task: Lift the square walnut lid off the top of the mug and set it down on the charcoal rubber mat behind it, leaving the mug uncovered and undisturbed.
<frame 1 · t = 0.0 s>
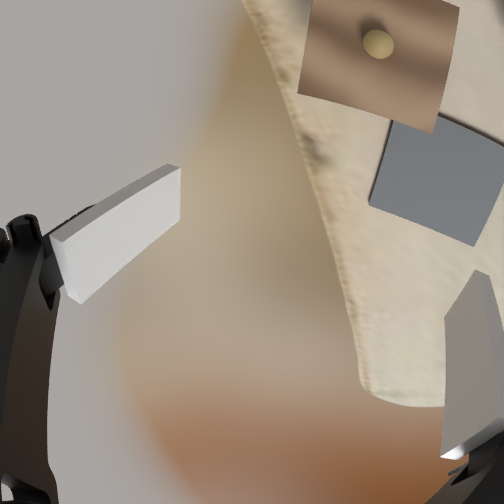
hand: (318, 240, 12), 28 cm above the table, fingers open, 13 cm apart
lid: (379, 46, 21), point 10 cm above the table, touching mug
mat: (442, 176, 33), on the table
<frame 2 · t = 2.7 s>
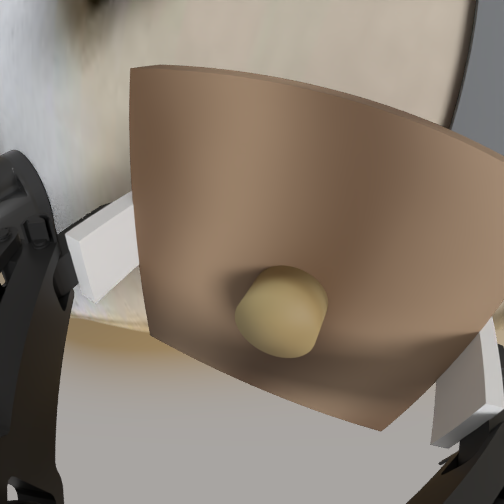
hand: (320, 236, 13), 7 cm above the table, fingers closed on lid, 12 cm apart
lid: (302, 272, 11), point 10 cm above the table, touching gripper, mug
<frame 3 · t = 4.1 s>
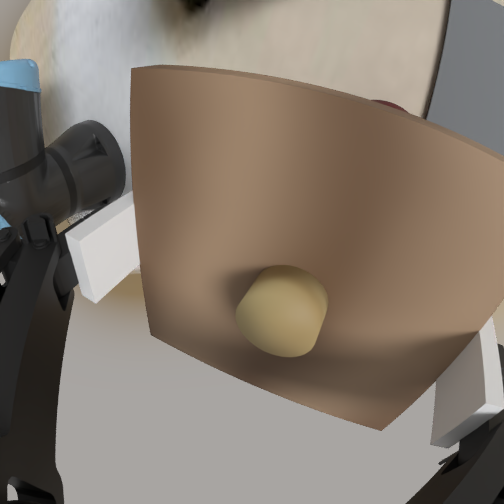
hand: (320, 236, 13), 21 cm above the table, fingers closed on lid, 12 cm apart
lid: (303, 271, 11), point 24 cm above the table, touching gripper
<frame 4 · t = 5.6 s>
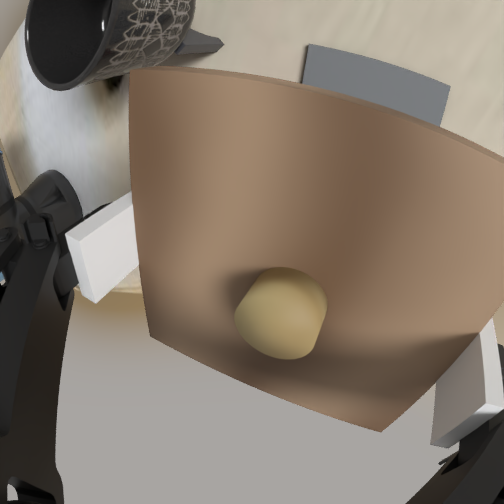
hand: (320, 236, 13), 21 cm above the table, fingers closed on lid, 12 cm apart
lid: (302, 273, 11), point 24 cm above the table, touching gripper
mat: (363, 135, 29), on the table
planter: (192, 17, 28), on the table
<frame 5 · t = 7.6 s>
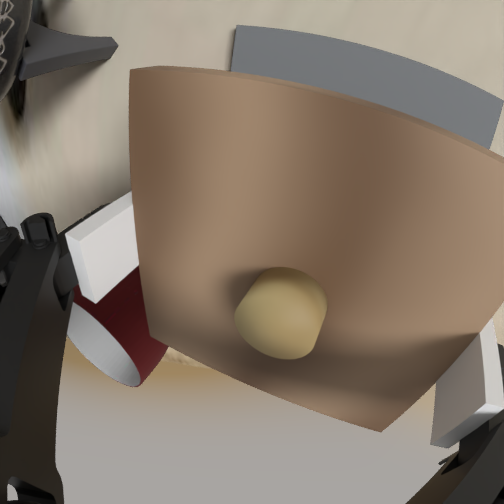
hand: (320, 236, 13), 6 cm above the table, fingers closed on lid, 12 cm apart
lid: (302, 273, 11), point 8 cm above the table, touching gripper
mat: (339, 188, 17), on the table
planter: (84, 12, 16), on the table
mug: (165, 261, 26), on the table
when the fingers open (3 cm above the table, at t = 8.9 s): lid drops 5 cm, resting on mat.
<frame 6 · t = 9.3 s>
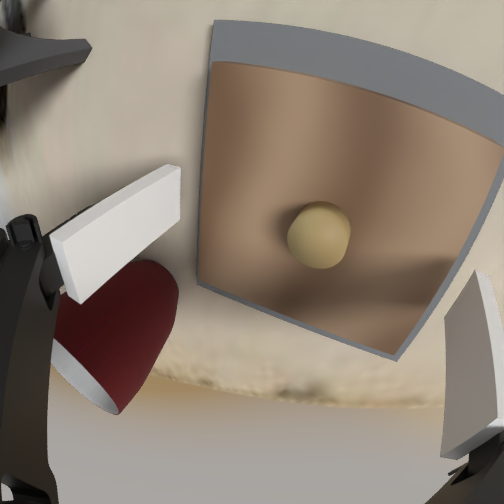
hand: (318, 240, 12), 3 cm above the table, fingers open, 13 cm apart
lid: (330, 213, 14), point 1 cm above the table, touching mat
mat: (333, 207, 15), on the table
planter: (59, 13, 14), on the table
mug: (148, 278, 24), on the table
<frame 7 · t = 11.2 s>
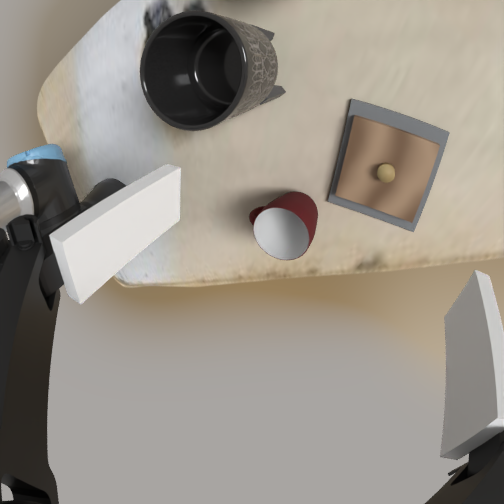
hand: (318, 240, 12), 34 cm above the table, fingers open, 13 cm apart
lid: (386, 168, 40), point 1 cm above the table, touching mat
mat: (387, 166, 40), on the table
planter: (259, 65, 40), on the table
mug: (295, 204, 50), on the table
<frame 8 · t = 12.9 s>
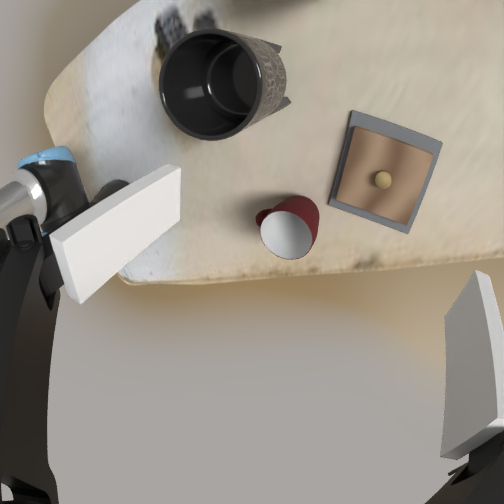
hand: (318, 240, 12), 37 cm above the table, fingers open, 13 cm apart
lid: (383, 174, 44), point 1 cm above the table, touching mat
mat: (384, 173, 44), on the table
planter: (266, 77, 43), on the table
mug: (297, 207, 54), on the table
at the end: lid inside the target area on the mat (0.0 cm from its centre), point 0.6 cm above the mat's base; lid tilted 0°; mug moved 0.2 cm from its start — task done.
